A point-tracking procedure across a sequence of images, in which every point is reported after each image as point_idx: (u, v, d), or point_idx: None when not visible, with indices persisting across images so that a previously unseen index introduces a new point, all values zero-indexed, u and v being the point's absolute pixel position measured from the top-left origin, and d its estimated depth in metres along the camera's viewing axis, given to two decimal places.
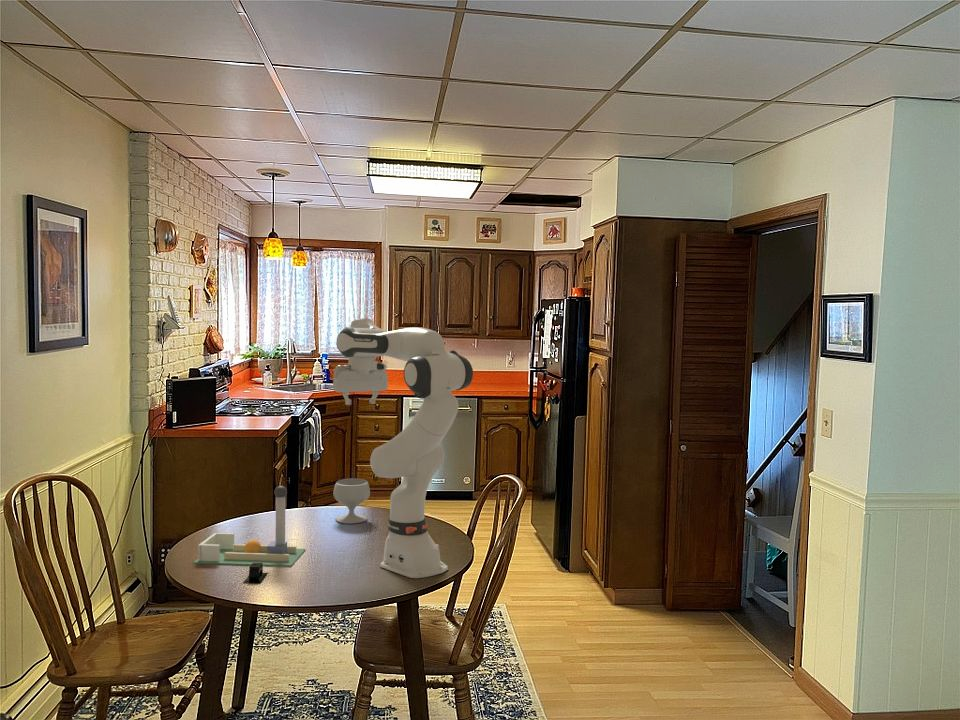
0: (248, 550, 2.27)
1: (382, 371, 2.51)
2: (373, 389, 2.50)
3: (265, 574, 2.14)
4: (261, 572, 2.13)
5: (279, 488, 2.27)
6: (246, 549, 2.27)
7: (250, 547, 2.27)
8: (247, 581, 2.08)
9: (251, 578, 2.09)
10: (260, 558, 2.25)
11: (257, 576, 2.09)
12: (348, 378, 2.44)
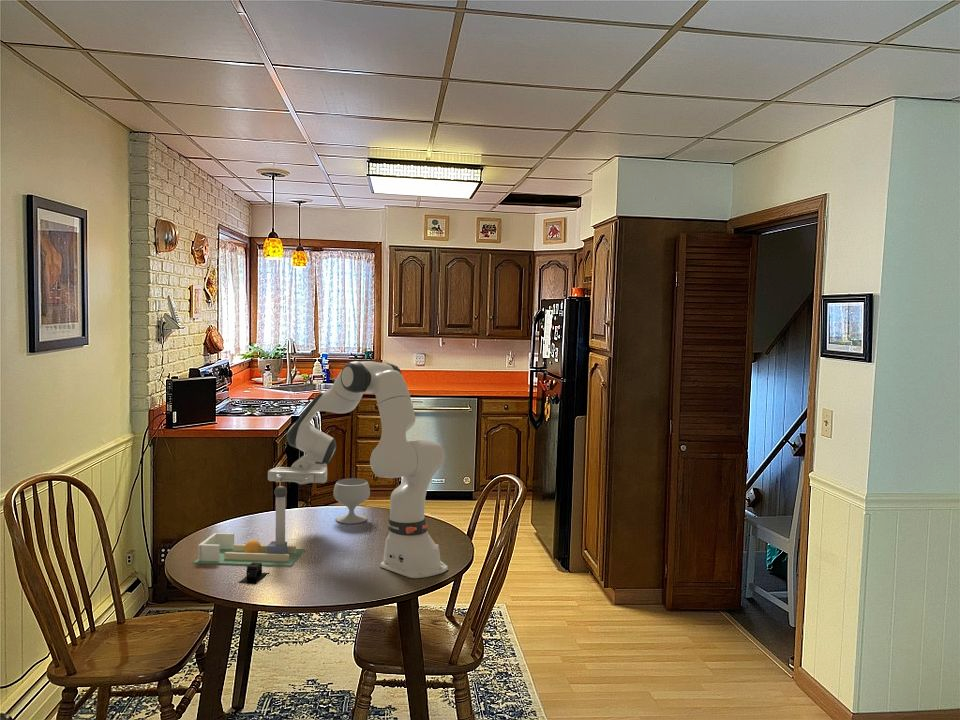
0: (248, 550, 2.27)
1: (321, 466, 2.51)
2: (308, 472, 2.45)
3: (264, 574, 2.14)
4: (260, 572, 2.13)
5: (279, 488, 2.27)
6: (246, 549, 2.27)
7: (250, 547, 2.27)
8: (244, 580, 2.08)
9: (249, 577, 2.09)
10: (260, 558, 2.25)
11: (254, 576, 2.09)
12: (283, 469, 2.50)
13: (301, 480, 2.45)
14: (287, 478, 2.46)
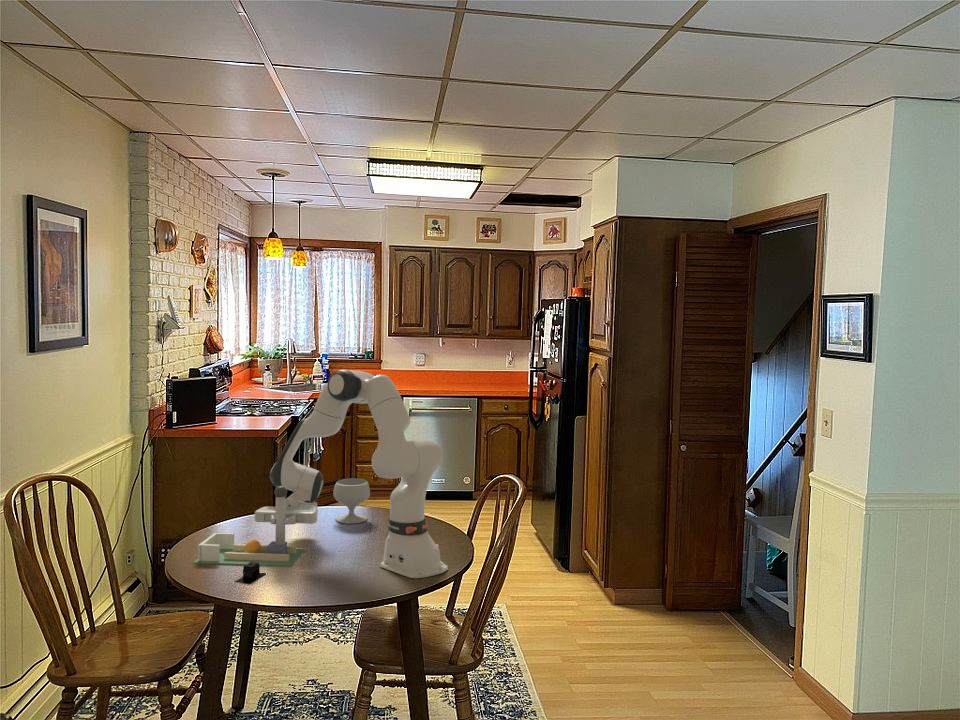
0: (248, 550, 2.27)
1: (311, 505, 2.39)
2: (296, 512, 2.33)
3: (262, 575, 2.13)
4: (258, 572, 2.13)
5: (279, 488, 2.27)
6: (246, 549, 2.27)
7: (250, 547, 2.27)
8: (240, 580, 2.09)
9: (245, 577, 2.10)
10: (260, 558, 2.25)
11: (250, 576, 2.09)
12: (271, 509, 2.37)
13: None
14: None
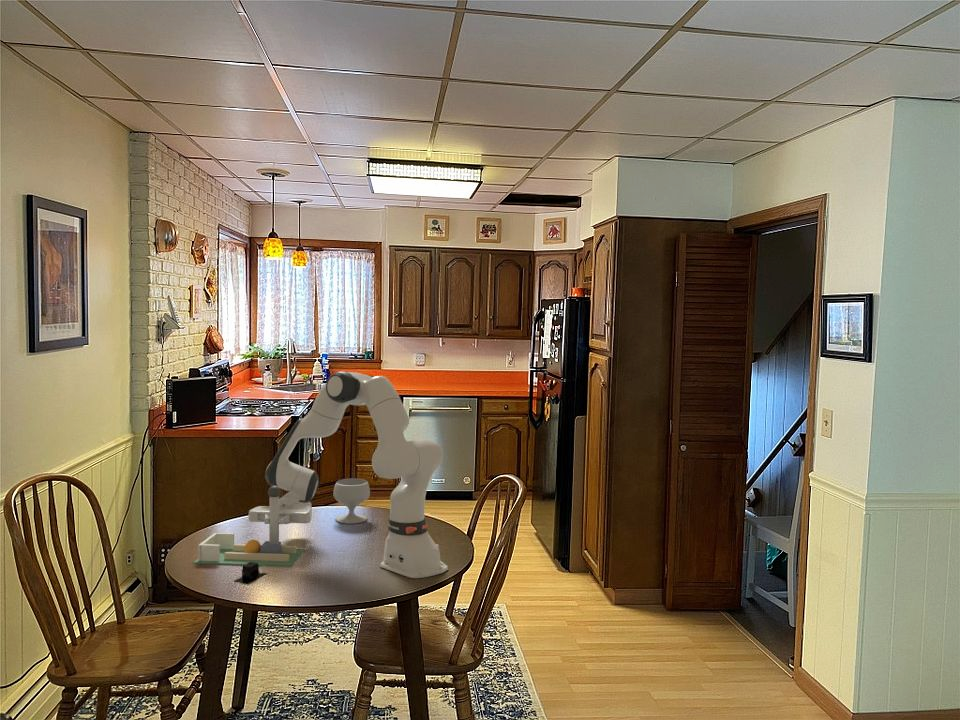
0: (248, 550, 2.27)
1: (305, 505, 2.39)
2: (290, 512, 2.33)
3: (261, 575, 2.13)
4: (257, 572, 2.13)
5: (273, 487, 2.27)
6: (246, 549, 2.27)
7: (250, 547, 2.27)
8: (238, 579, 2.09)
9: (244, 577, 2.10)
10: (260, 558, 2.25)
11: (248, 576, 2.09)
12: (265, 508, 2.37)
13: None
14: None
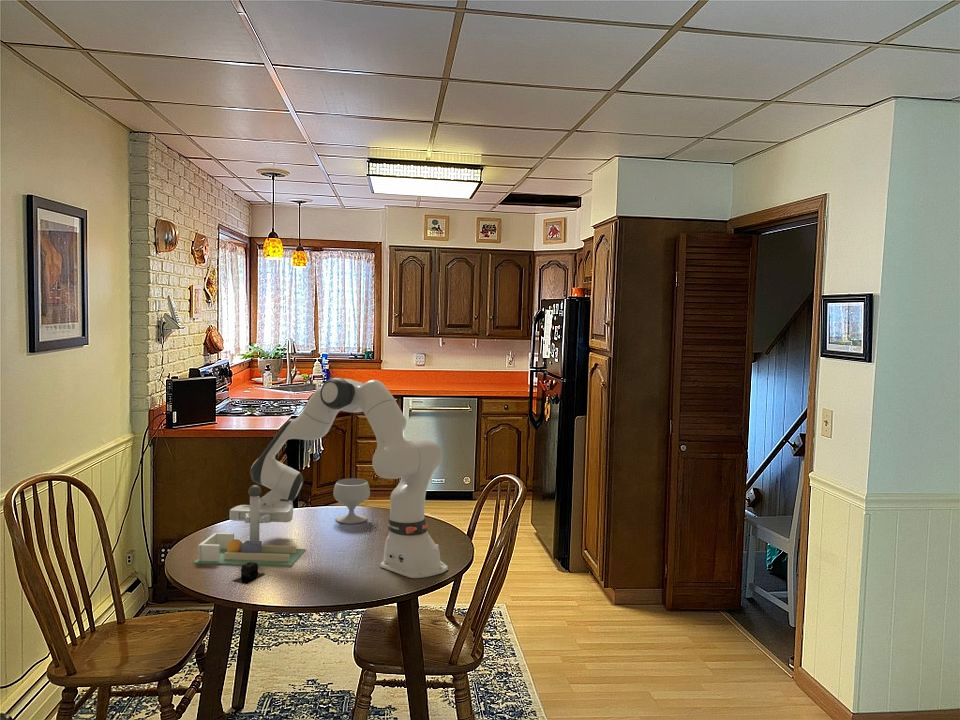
0: (233, 550, 2.27)
1: (286, 503, 2.39)
2: (271, 511, 2.33)
3: (261, 575, 2.13)
4: (256, 572, 2.13)
5: (253, 487, 2.27)
6: None
7: (230, 551, 2.27)
8: (237, 579, 2.09)
9: (243, 576, 2.10)
10: (260, 558, 2.25)
11: (247, 576, 2.09)
12: (246, 507, 2.37)
13: None
14: None
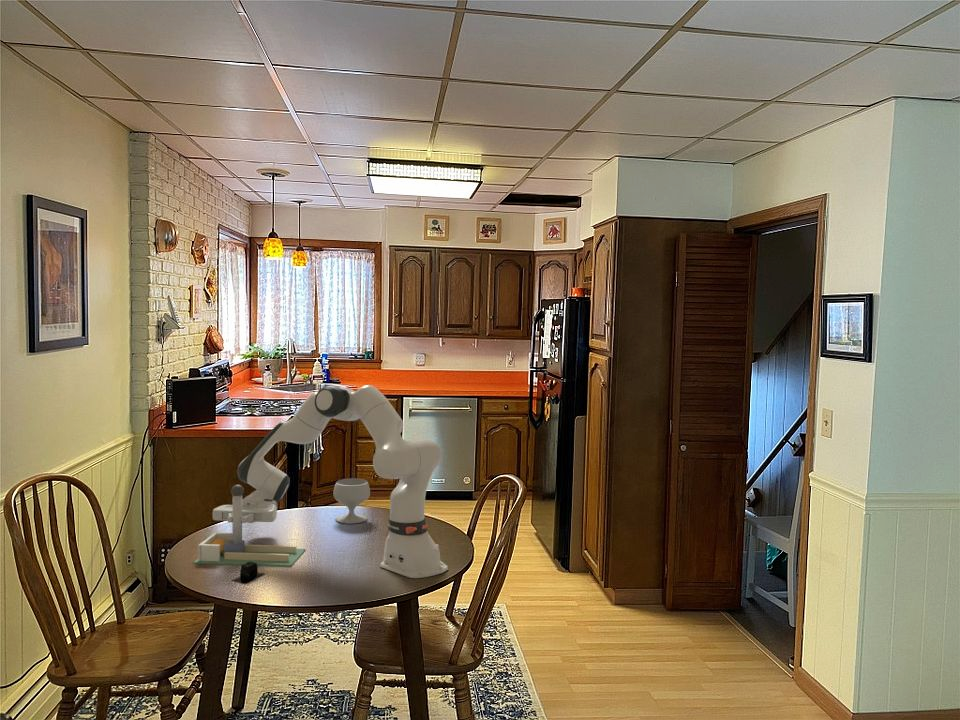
0: None
1: (270, 503, 2.39)
2: (254, 510, 2.33)
3: (260, 575, 2.13)
4: (256, 572, 2.13)
5: (235, 486, 2.27)
6: None
7: None
8: (236, 579, 2.09)
9: (242, 576, 2.10)
10: (260, 558, 2.25)
11: (246, 575, 2.09)
12: (230, 507, 2.38)
13: None
14: None
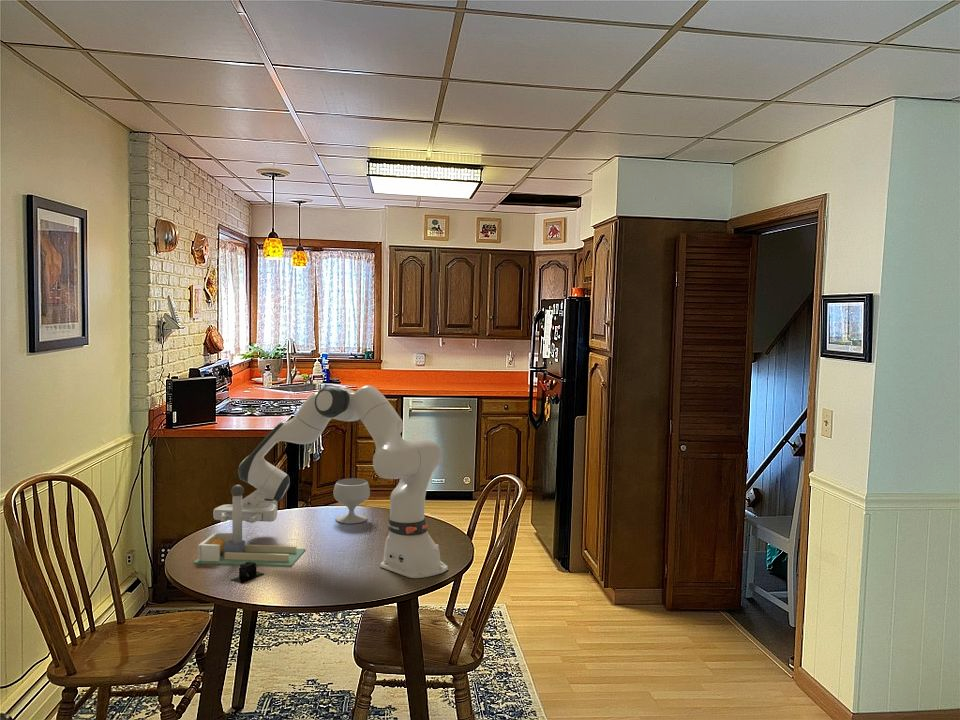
0: None
1: (270, 503, 2.40)
2: (255, 510, 2.34)
3: (259, 575, 2.13)
4: (255, 572, 2.13)
5: (235, 486, 2.27)
6: (215, 544, 2.27)
7: None
8: (235, 578, 2.10)
9: (241, 576, 2.10)
10: (260, 558, 2.25)
11: (245, 575, 2.09)
12: (230, 506, 2.38)
13: (248, 519, 2.34)
14: None
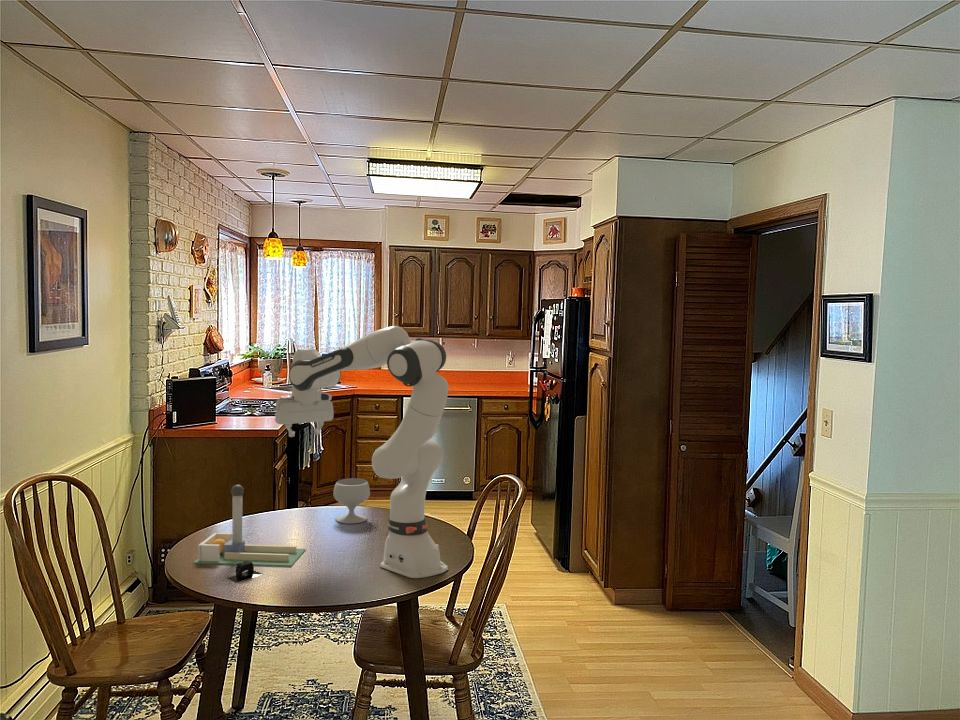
0: None
1: (327, 401, 2.46)
2: (318, 420, 2.45)
3: (256, 575, 2.13)
4: (252, 572, 2.13)
5: (235, 486, 2.27)
6: None
7: None
8: (231, 577, 2.11)
9: (237, 575, 2.11)
10: (260, 558, 2.25)
11: (240, 574, 2.10)
12: (290, 409, 2.39)
13: None
14: None
